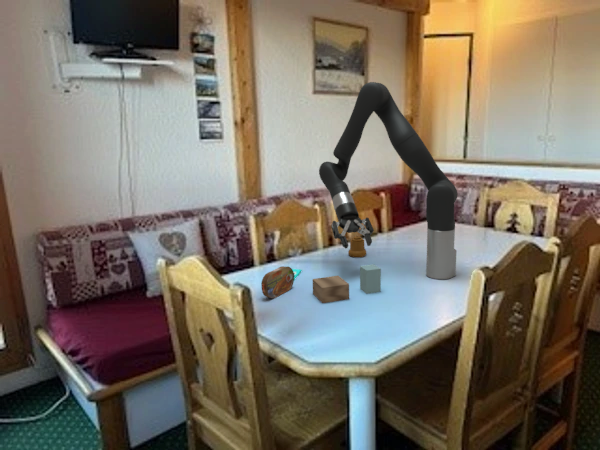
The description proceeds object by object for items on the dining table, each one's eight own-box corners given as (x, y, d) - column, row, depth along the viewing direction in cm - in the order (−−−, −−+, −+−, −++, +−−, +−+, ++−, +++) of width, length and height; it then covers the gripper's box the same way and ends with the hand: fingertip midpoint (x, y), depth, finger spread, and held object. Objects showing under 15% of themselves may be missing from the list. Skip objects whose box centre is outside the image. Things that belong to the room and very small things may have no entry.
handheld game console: (302, 272, 178) (302, 269, 178) (290, 287, 163) (290, 283, 163) (277, 271, 181) (277, 267, 181) (263, 285, 166) (263, 281, 166)
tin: (268, 302, 149) (266, 276, 148) (260, 300, 151) (258, 275, 149) (295, 287, 162) (294, 263, 160) (287, 286, 163) (286, 262, 161)
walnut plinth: (338, 289, 158) (338, 275, 157) (349, 299, 149) (349, 284, 148) (312, 293, 155) (312, 279, 154) (322, 303, 147) (322, 287, 146)
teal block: (373, 287, 159) (373, 264, 158) (380, 291, 155) (380, 268, 153) (360, 289, 158) (360, 266, 156) (366, 294, 153) (366, 270, 152)
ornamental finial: (365, 258, 192) (347, 257, 194) (367, 253, 199) (349, 252, 201) (365, 239, 190) (346, 238, 192) (367, 234, 197) (349, 234, 199)
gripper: (329, 203, 165) (342, 242, 157) (366, 199, 169) (380, 238, 161) (324, 215, 171) (336, 253, 163) (360, 211, 175) (373, 249, 167)
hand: (358, 246), depth 162 cm, fingers open, 8 cm apart
